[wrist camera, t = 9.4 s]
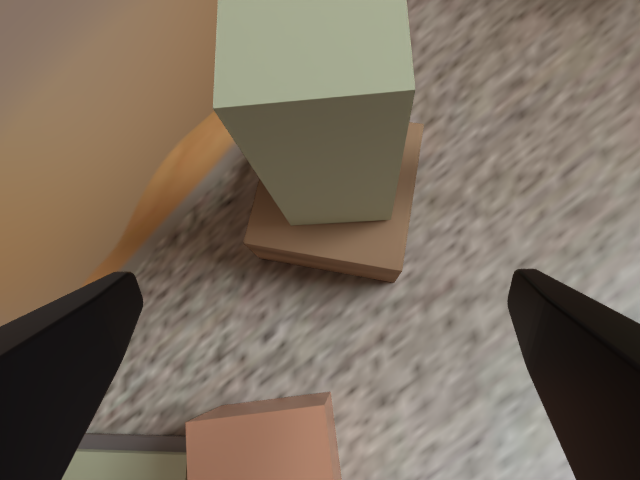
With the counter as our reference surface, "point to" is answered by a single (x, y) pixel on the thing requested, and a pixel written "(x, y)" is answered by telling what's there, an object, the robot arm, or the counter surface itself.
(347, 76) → the sage block
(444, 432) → the counter surface
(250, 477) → the terracotta cube
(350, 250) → the walnut slab
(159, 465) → the tile
